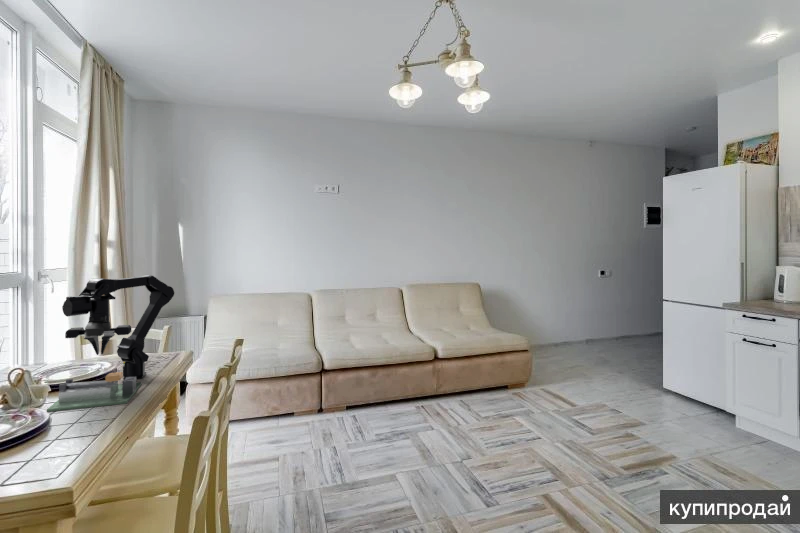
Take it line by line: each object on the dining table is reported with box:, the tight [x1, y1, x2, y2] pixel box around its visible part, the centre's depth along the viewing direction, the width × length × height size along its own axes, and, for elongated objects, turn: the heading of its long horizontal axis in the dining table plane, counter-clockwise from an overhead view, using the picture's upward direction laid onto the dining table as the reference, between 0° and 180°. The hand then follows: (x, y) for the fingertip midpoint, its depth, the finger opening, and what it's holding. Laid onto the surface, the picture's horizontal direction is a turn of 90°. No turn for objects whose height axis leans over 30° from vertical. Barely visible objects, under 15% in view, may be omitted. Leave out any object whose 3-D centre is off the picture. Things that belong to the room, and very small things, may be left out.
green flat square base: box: [46, 376, 142, 413], centre depth 135 cm, size 21×20×6 cm
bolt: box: [104, 371, 124, 382], centre depth 137 cm, size 4×4×2 cm
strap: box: [67, 380, 117, 388], centre depth 134 cm, size 14×4×1 cm, turn 112°
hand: (100, 354), depth 145 cm, fingers closed
